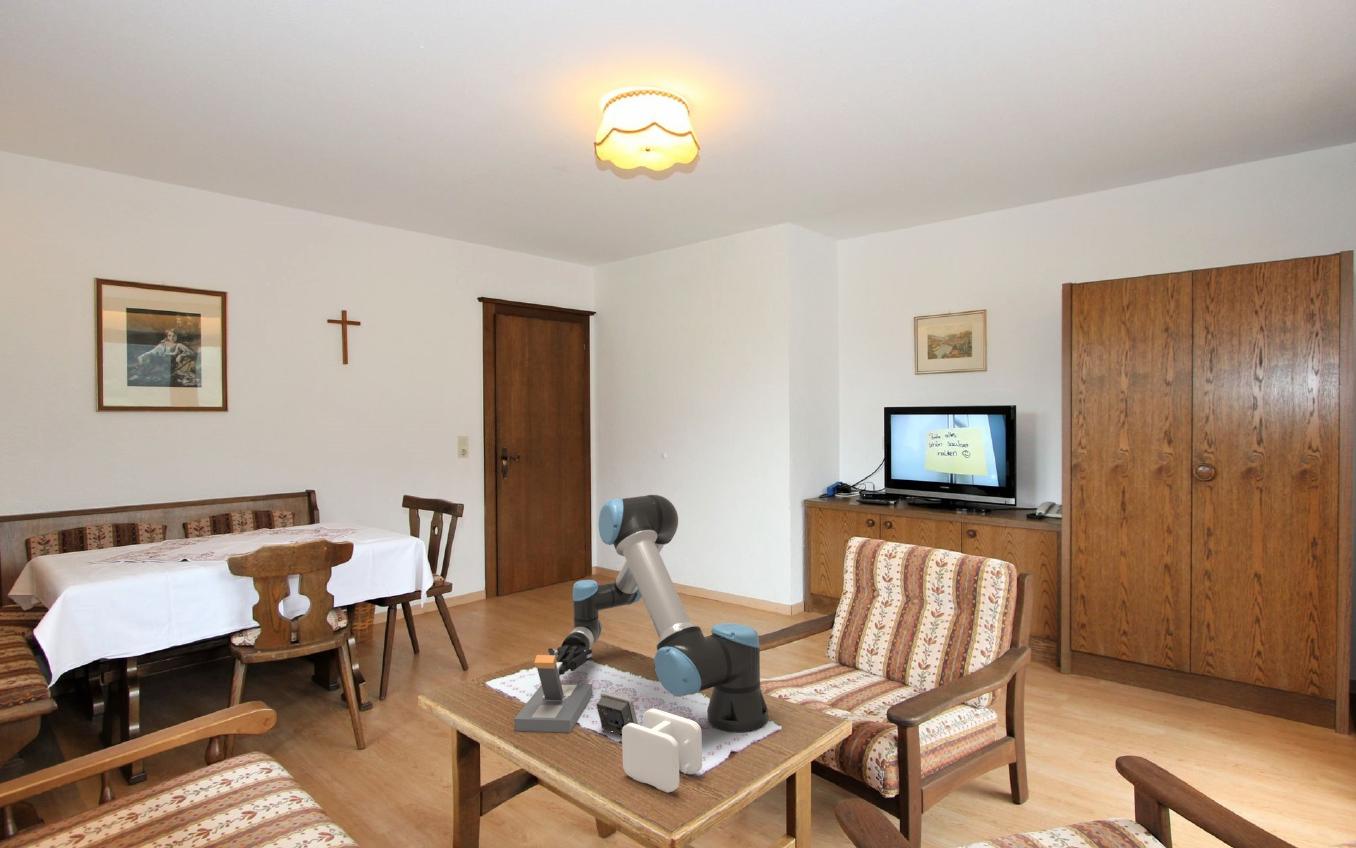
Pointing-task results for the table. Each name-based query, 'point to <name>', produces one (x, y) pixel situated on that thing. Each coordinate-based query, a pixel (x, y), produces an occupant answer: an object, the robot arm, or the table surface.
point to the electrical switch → (615, 712)
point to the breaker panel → (554, 710)
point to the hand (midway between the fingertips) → (552, 677)
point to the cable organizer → (661, 749)
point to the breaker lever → (549, 676)
